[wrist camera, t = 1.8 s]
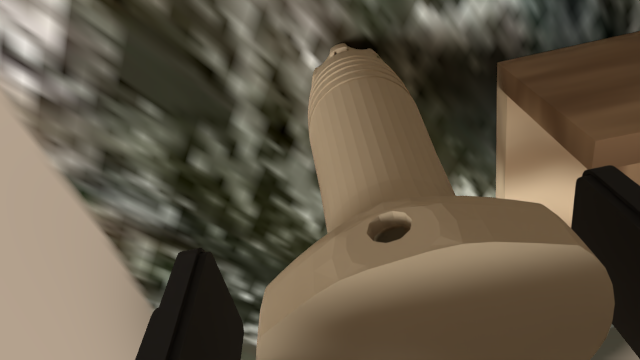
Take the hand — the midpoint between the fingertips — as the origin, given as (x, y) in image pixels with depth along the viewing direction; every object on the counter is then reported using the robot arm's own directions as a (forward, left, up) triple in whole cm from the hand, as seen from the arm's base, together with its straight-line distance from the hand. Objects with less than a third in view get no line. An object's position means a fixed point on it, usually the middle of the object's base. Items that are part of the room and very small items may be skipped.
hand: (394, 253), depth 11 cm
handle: (-1, 0, -12) cm, 12 cm away
